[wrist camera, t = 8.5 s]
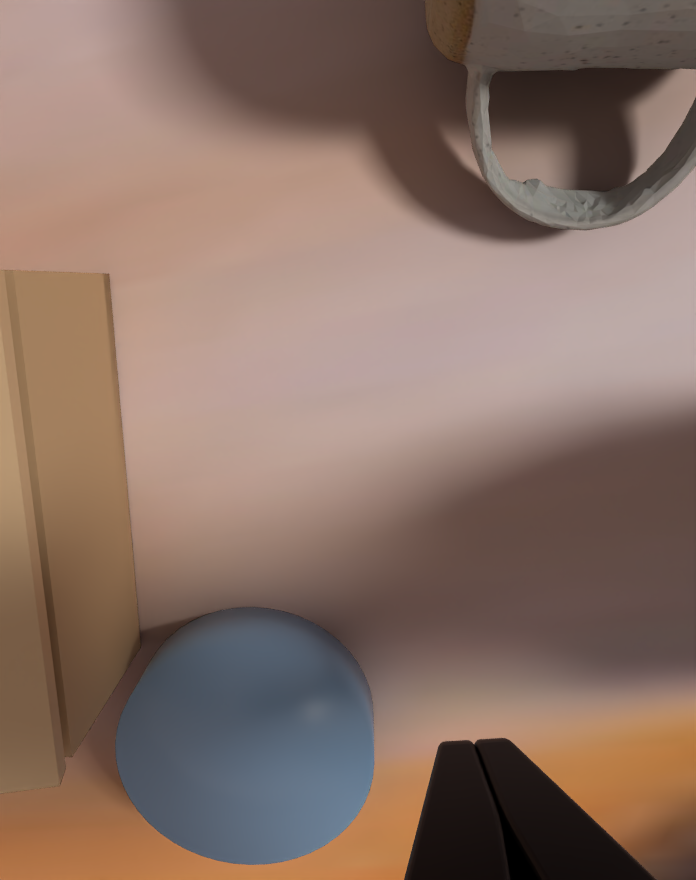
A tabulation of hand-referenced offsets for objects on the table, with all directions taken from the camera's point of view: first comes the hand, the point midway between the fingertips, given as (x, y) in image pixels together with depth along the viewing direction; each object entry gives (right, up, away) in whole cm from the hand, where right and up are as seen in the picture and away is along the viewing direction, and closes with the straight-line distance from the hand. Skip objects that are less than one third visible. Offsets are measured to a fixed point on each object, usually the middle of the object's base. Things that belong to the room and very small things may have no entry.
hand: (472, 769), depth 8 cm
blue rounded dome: (-5, -5, +14) cm, 16 cm away
